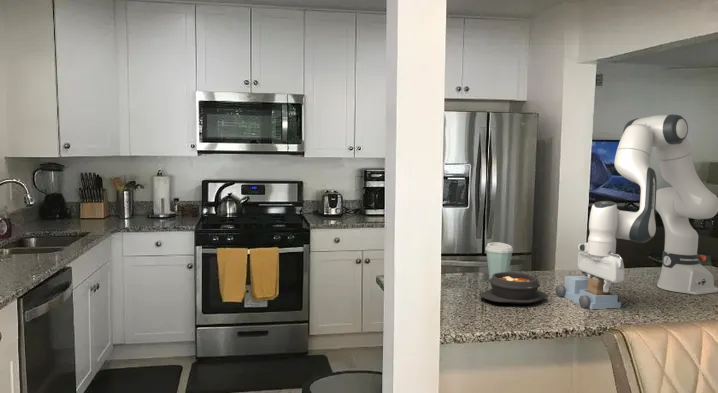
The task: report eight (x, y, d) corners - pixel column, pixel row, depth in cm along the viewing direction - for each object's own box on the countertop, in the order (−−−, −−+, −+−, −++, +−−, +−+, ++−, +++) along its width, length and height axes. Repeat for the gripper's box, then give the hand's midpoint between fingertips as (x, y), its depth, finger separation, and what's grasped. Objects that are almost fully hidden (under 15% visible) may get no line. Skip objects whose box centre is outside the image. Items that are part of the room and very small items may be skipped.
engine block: (599, 291, 199) (600, 275, 199) (609, 295, 194) (610, 279, 194) (587, 292, 198) (588, 276, 197) (596, 296, 193) (597, 279, 193)
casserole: (500, 311, 187) (501, 285, 186) (467, 296, 204) (468, 273, 203) (560, 304, 197) (561, 280, 196) (524, 290, 214) (525, 268, 213)
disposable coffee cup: (517, 283, 224) (519, 245, 222) (495, 286, 219) (497, 247, 218) (499, 277, 233) (501, 241, 232) (478, 280, 229) (480, 242, 227)
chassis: (553, 294, 210) (554, 275, 209) (587, 292, 213) (588, 274, 212) (587, 310, 190) (589, 289, 190) (624, 308, 194) (625, 287, 193)
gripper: (630, 255, 185) (627, 297, 187) (590, 243, 205) (588, 281, 206) (613, 255, 184) (611, 297, 185) (575, 244, 204) (572, 282, 205)
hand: (598, 289), depth 196 cm, fingers closed on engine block, 5 cm apart
